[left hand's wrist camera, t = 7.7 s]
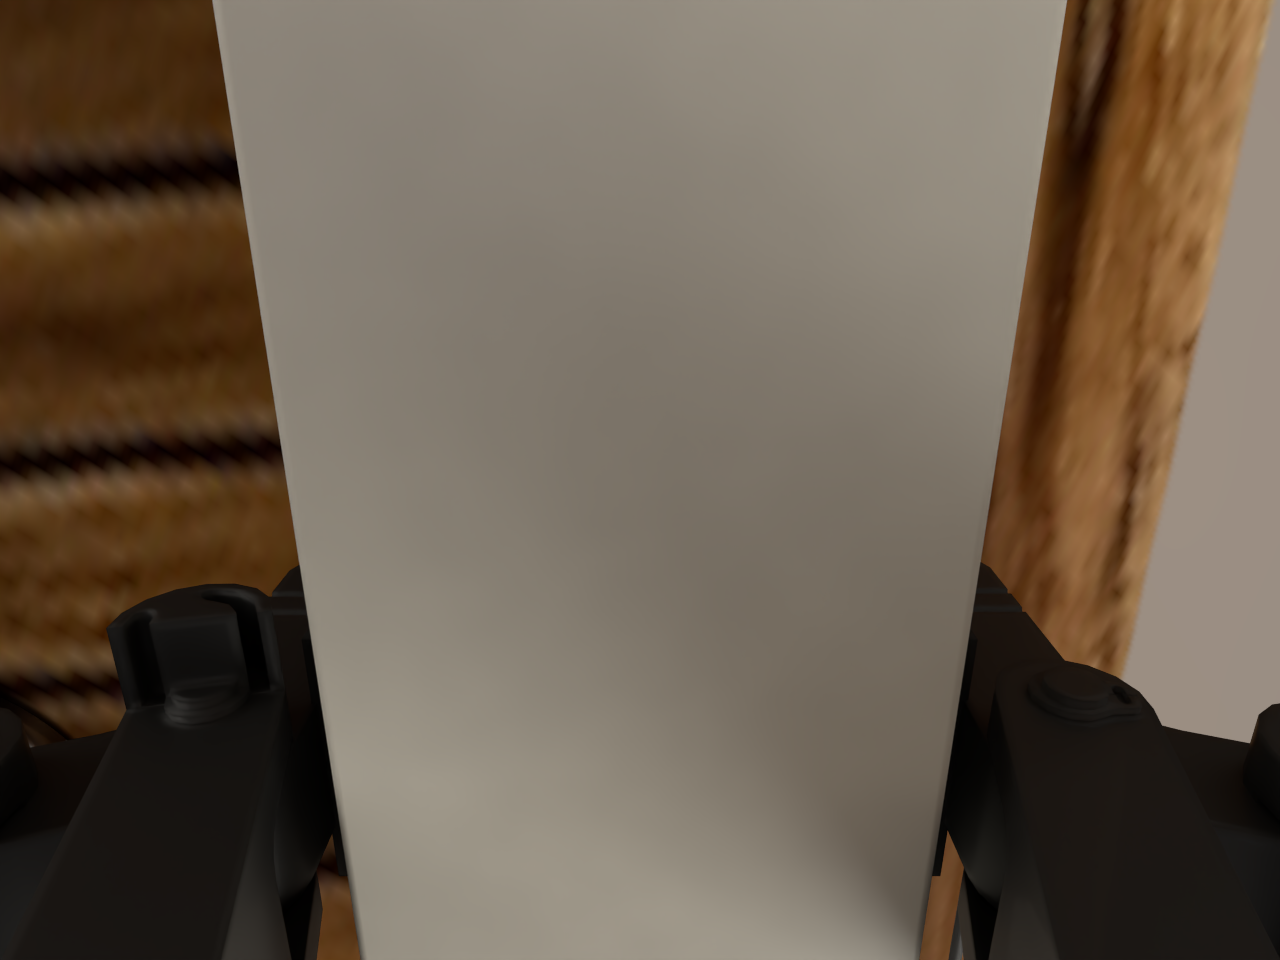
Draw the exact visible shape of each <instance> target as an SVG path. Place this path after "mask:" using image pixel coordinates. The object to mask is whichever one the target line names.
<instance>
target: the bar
mask: <svg viewBox="0 0 1280 960" xmlns="http://www.w3.org/2000/svg"><path fill="white" fill-rule="evenodd" d="M212 1H213V7H214V14H215V20H216V27H217V33H218V40H219V46H220V53H221V59H222V65H223V72H224V78H225V85H226V91H227V98H228V104H229V111H230V117H231V124H232V130H233V137H234V143H235V150H236V156H237V162H238V169H239V175H240V182H241V188H242V195H243V201H244V208H245V214H246V221H247V227H248V234H249V240H250V247H251V253H252V259H253V266H254V272H255V279H256V285H257V292H258V298H259V305H260V311H261V318H262V324H263V331H264V337H265V344H266V350H267V356H268V363H269V369H270V376H271V382H272V389H273V395H274V402H275V408H276V415H277V421H278V428H279V434H280V441H281V447H282V454H283V460H284V466H285V473H286V479H287V486H288V492H289V499H290V505H291V512H292V518H293V525H294V531H295V538H296V544H297V551H298V557H299V563H300V570H301V576H302V583H303V589H304V596H305V602H306V609H307V615H308V622H309V628H310V635H311V641H312V648H313V654H314V660H315V667H316V673H317V680H318V686H319V693H320V699H321V706H322V712H323V719H324V725H325V732H326V738H327V745H328V751H329V757H330V764H331V770H332V777H333V783H334V790H335V796H336V803H337V809H338V816H339V822H340V829H341V835H342V842H343V848H344V854H345V861H346V867H347V874H348V880H349V887H350V893H351V900H352V906H353V913H354V919H355V926H356V932H357V939H358V945H359V952H360V958H361V960H919V957H920V950H921V944H922V937H923V931H924V924H925V918H926V911H927V905H928V898H929V892H930V885H931V879H932V872H933V866H934V859H935V853H936V846H937V840H938V833H939V827H940V820H941V814H942V808H943V801H944V795H945V788H946V782H947V775H948V769H949V762H950V756H951V749H952V743H953V736H954V730H955V723H956V717H957V710H958V704H959V697H960V691H961V684H962V678H963V671H964V665H965V658H966V652H967V645H968V639H969V632H970V626H971V619H972V613H973V606H974V600H975V594H976V587H977V581H978V574H979V568H980V561H981V555H982V548H983V542H984V535H985V529H986V522H987V516H988V509H989V503H990V496H991V490H992V483H993V477H994V470H995V464H996V457H997V451H998V444H999V438H1000V431H1001V425H1002V418H1003V412H1004V405H1005V399H1006V392H1007V386H1008V379H1009V373H1010V367H1011V360H1012V354H1013V347H1014V341H1015V334H1016V328H1017V321H1018V315H1019V308H1020V302H1021V295H1022V289H1023V282H1024V276H1025V269H1026V263H1027V256H1028V250H1029V243H1030V237H1031V230H1032V224H1033V217H1034V211H1035V204H1036V198H1037V191H1038V185H1039V178H1040V172H1041V165H1042V159H1043V153H1044V146H1045V140H1046V133H1047V127H1048V120H1049V114H1050V107H1051V101H1052V94H1053V88H1054V81H1055V75H1056V68H1057V62H1058V55H1059V49H1060V42H1061V36H1062V29H1063V23H1064V16H1065V10H1066V3H1067V0H212Z"/></svg>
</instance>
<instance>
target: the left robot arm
mask: <svg viewBox="0 0 1280 960" xmlns="http://www.w3.org/2000/svg"><path fill="white" fill-rule="evenodd" d="M106 629H107V633H108V637H109V641H110V645H111V649H112V653H113V657H114V661H115V665H116V669H117V673H118V677H119V681H120V685H121V689H122V693H123V697H124V701H125V705H126V709H127V710H126V712H125V714H124V716H123V718H122V720H121V722H120V724H119V726H118V728H117V730H114V731H110V732H106V733H102V734H98V735H93V736H88V737H83V738H77V739H72V740H66V739H65V738H64V737H63V736H62V735H60V734H59V733H58V732H57V731H55V730H54V729H53V728H51V727H50V726H48V725H47V724H46V723H44V722H43V721H42V720H40V719H39V718H37V717H35V716H34V715H32V714H30V713H29V712H27V711H26V710H24V709H22V708H21V707H19V706H17V705H15V704H13V703H11V702H9V701H7V700H5V699H3V698H1V697H0V960H316V959H317V951H318V943H319V934H320V926H321V918H322V910H323V908H322V902H321V895H320V888H319V883H318V877H317V871H316V869H317V867H318V865H319V862H320V860H321V858H322V855H323V853H324V851H325V849H326V846H327V844H328V842H329V839H330V837H331V835H333V841H334V847H335V854H336V860H337V866H338V872H339V876H348V874H347V867H346V861H345V854H344V848H343V842H342V835H341V829H340V822H339V816H338V809H337V803H336V796H335V790H334V783H333V777H332V770H331V764H330V757H329V751H328V745H327V738H326V732H325V725H324V719H323V712H322V706H321V699H320V693H319V686H318V680H317V673H316V667H315V660H314V654H313V648H312V641H311V635H310V628H309V622H308V615H307V609H306V602H305V596H304V589H303V583H302V576H301V570H300V565H298V566H297V567H295V568H293V569H292V570H290V571H289V572H288V573H287V575H286V576H285V577H284V578H283V580H282V581H281V582H280V583H279V585H278V586H277V587H276V588H275V590H274V591H273V592H272V597H268V596H267V595H265V594H264V593H263V592H261V591H260V590H258V589H257V588H253V587H248V586H243V585H239V584H205V585H199V586H194V587H188V588H182V589H177V590H173V591H170V592H167V593H164V594H161V595H159V596H156V597H153V598H150V599H147V600H145V601H143V602H141V603H139V604H137V605H136V606H134V607H132V608H130V609H128V610H126V611H125V612H123V613H121V614H120V615H119V616H118V617H117V618H116V619H115V620H114V621H113V622H112V623H111V624H110V625H109V626H108V627H107V628H106ZM947 830H948V832H949V834H950V836H951V839H952V841H953V843H954V846H955V848H956V850H957V852H958V855H959V857H960V859H961V861H962V864H963V866H964V871H963V877H962V883H961V888H960V894H959V900H958V906H957V912H956V918H955V924H954V929H953V935H952V941H951V947H950V953H949V960H961V959H962V954H963V957H964V960H1280V704H1273V705H1271V706H1270V707H1268V708H1267V709H1266V710H1264V711H1263V712H1262V713H1260V714H1259V716H1258V719H1257V722H1256V726H1255V729H1254V732H1253V736H1252V739H1251V742H1250V743H1245V742H1239V741H1234V740H1229V739H1224V738H1218V737H1213V736H1208V735H1203V734H1197V733H1192V732H1187V731H1182V730H1178V729H1174V728H1170V727H1166V726H1162V725H1161V723H1160V721H1159V719H1158V717H1157V715H1156V713H1155V711H1154V709H1153V708H1152V706H1151V705H1150V704H1149V703H1148V702H1147V700H1146V699H1145V698H1144V697H1143V696H1142V694H1141V693H1140V692H1139V691H1137V690H1136V689H1134V688H1133V687H1131V686H1130V685H1128V684H1127V683H1125V682H1124V681H1122V680H1120V679H1119V678H1117V677H1116V676H1113V675H1111V674H1108V673H1106V672H1103V671H1101V670H1098V669H1096V668H1093V667H1090V666H1088V665H1083V664H1079V663H1074V662H1069V661H1065V660H1064V659H1063V658H1062V657H1061V655H1060V654H1059V653H1058V652H1057V650H1056V649H1055V648H1054V647H1053V645H1052V644H1051V643H1050V642H1049V640H1048V639H1047V638H1046V637H1045V635H1044V634H1043V633H1042V632H1041V630H1040V629H1039V628H1038V627H1037V625H1036V624H1035V623H1034V622H1033V621H1032V619H1031V618H1030V617H1029V616H1028V614H1027V613H1026V612H1022V607H1021V606H1020V604H1019V603H1018V602H1017V601H1016V599H1015V598H1014V597H1013V596H1012V594H1008V593H1007V588H1006V587H1005V586H1004V584H1003V583H1002V582H1001V581H1000V579H999V578H998V577H997V576H996V574H995V573H994V572H993V571H992V569H991V568H990V567H988V566H986V565H985V564H983V563H981V562H980V568H979V574H978V581H977V587H976V594H975V600H974V606H973V613H972V619H971V626H970V632H969V639H968V645H967V652H966V658H965V665H964V671H963V678H962V684H961V691H960V697H959V704H958V710H957V717H956V723H955V730H954V736H953V743H952V749H951V756H950V762H949V769H948V775H947V782H946V788H945V795H944V801H943V808H942V814H941V820H940V827H939V833H938V840H937V846H936V853H935V859H934V866H933V872H932V876H940V874H941V868H942V862H943V856H944V849H945V843H946V837H947Z"/></svg>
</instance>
